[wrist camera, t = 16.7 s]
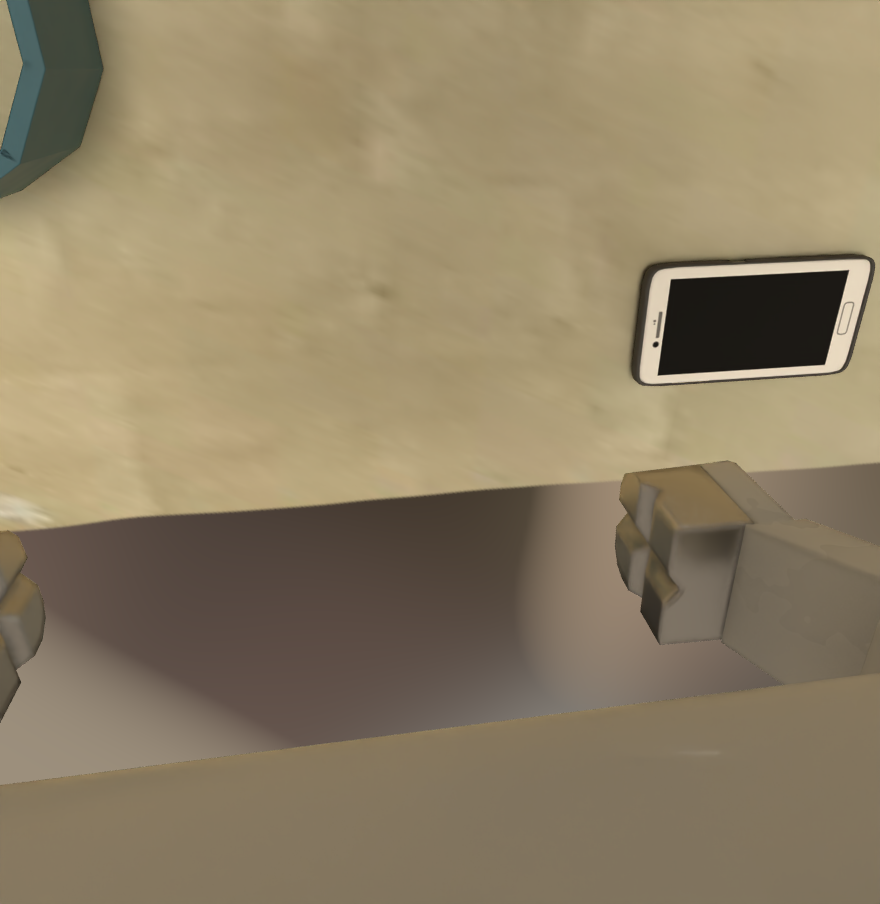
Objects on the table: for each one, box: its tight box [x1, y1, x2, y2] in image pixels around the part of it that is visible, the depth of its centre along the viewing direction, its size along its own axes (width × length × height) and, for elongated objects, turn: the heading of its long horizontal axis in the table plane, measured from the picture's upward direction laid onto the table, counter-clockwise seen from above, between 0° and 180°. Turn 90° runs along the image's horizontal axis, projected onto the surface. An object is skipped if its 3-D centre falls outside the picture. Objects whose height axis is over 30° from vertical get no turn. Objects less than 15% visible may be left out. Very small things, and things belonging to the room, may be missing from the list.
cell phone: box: [632, 254, 875, 386], centre depth 45 cm, size 8×15×1 cm, turn 91°
